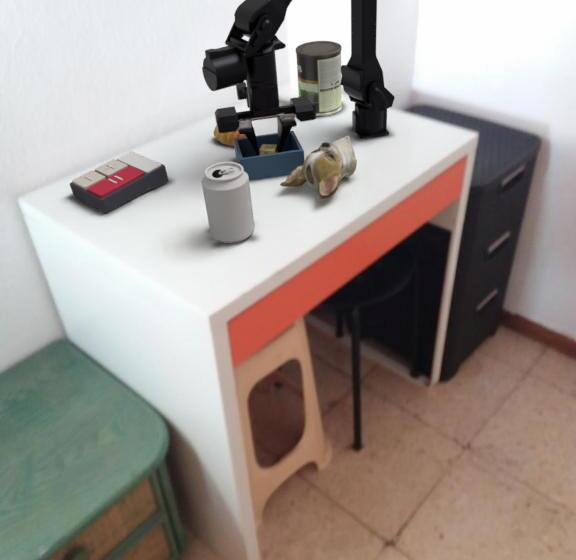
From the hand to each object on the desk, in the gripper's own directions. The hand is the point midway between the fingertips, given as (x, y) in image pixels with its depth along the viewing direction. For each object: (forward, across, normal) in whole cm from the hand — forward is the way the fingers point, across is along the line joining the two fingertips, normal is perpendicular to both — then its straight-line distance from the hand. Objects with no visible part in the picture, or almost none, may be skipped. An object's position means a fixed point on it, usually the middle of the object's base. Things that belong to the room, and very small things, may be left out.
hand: (269, 155), depth 120 cm
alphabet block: (+1, 0, 0) cm, 1 cm away
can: (+2, +10, +23) cm, 25 cm away
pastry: (+2, +5, -15) cm, 16 cm away
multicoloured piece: (+2, +30, +1) cm, 30 cm away
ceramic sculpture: (+2, -9, +12) cm, 15 cm away
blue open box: (+2, 0, 0) cm, 2 cm away
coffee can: (+2, -17, -26) cm, 31 cm away
